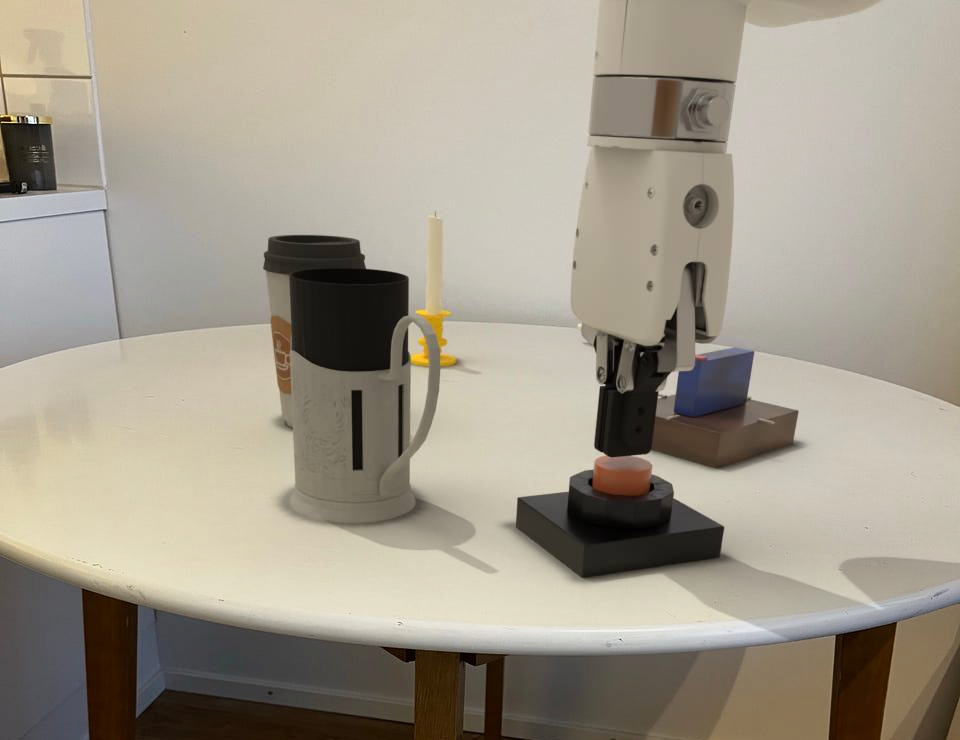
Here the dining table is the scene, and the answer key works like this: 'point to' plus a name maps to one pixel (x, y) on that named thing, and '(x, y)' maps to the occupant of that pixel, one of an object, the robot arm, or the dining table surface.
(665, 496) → the button box
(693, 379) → the blue battery-like brick
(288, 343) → the coffee cup
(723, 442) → the brown flat base
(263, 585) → the dining table surface
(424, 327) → the glass holder
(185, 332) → the dining table surface
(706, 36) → the robot arm
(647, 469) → the button
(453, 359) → the candle
